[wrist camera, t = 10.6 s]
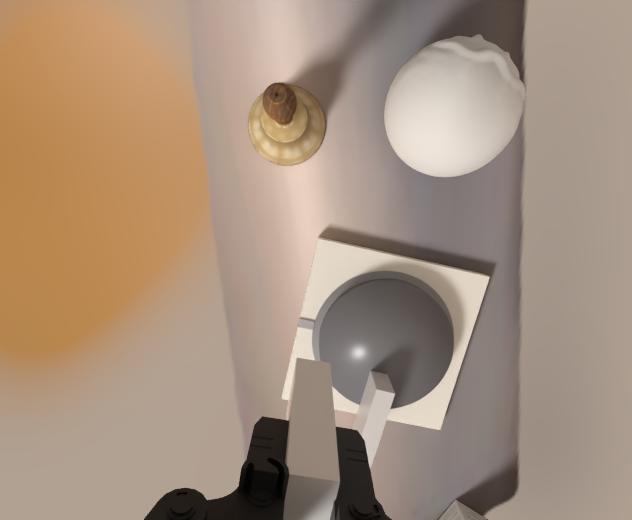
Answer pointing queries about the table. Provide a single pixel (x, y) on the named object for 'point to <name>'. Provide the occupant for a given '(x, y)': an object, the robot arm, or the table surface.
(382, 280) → the dial
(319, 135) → the hand bell
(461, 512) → the skincare box
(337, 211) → the table surface
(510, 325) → the table surface
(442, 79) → the decorative ball
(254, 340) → the table surface
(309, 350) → the dial plate
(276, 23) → the table surface
